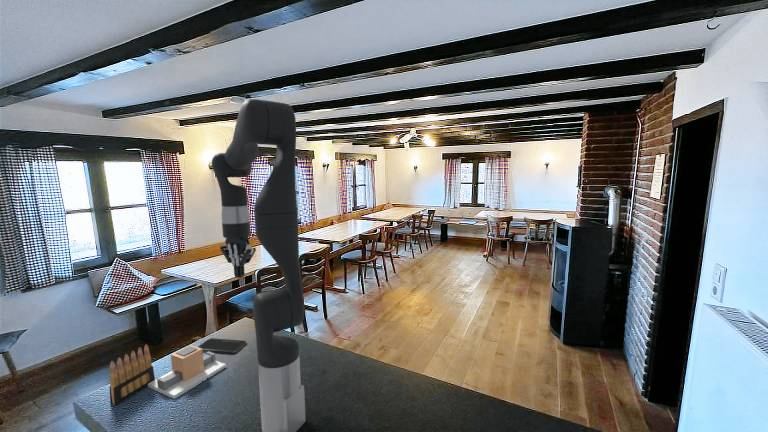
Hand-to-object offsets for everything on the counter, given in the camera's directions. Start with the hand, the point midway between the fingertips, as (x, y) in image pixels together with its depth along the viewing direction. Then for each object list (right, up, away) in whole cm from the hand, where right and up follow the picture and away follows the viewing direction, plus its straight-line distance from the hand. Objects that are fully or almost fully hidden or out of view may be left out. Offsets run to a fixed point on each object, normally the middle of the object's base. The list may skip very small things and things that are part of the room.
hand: (239, 276), depth 98 cm
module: (-14, -29, -2) cm, 32 cm away
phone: (-13, -28, +15) cm, 34 cm away
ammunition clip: (-25, -31, -9) cm, 41 cm away
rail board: (-14, -30, -2) cm, 33 cm away
